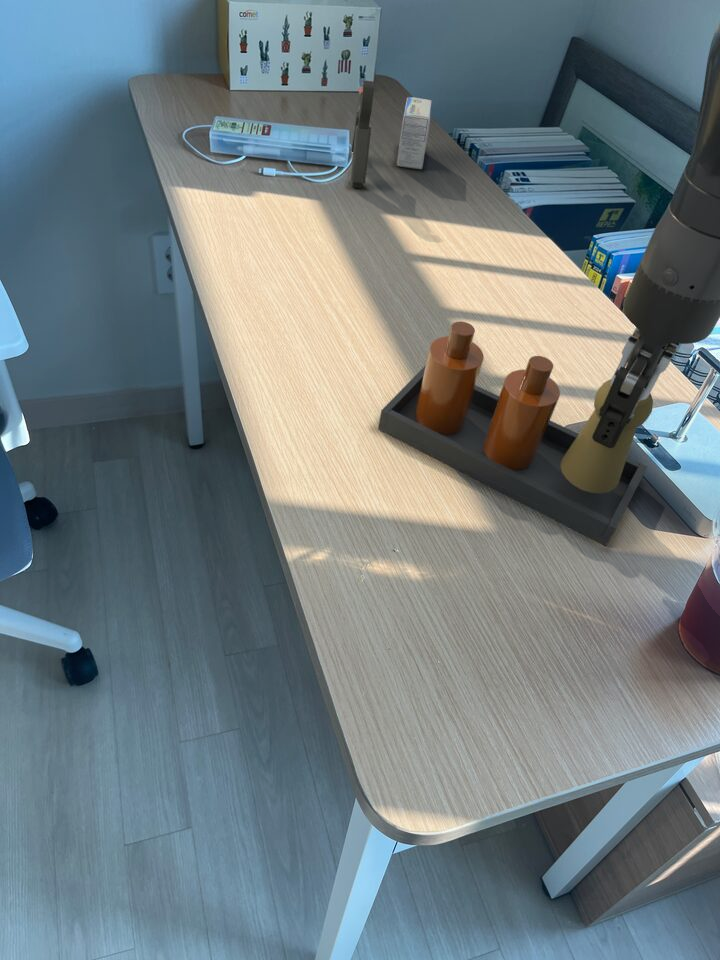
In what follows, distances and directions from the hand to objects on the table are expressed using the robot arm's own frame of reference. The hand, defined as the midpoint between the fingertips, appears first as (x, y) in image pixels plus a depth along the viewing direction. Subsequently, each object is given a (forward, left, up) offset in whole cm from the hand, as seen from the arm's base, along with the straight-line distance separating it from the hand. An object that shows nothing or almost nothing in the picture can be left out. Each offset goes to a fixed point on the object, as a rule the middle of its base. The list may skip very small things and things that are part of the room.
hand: (613, 425), depth 72 cm
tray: (+9, 0, -10) cm, 13 cm away
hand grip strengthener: (+57, -46, -10) cm, 73 cm away
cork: (0, 0, -7) cm, 7 cm away
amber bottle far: (+17, 0, -9) cm, 19 cm away
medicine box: (+53, -57, -10) cm, 78 cm away
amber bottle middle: (+9, 0, -9) cm, 12 cm away
